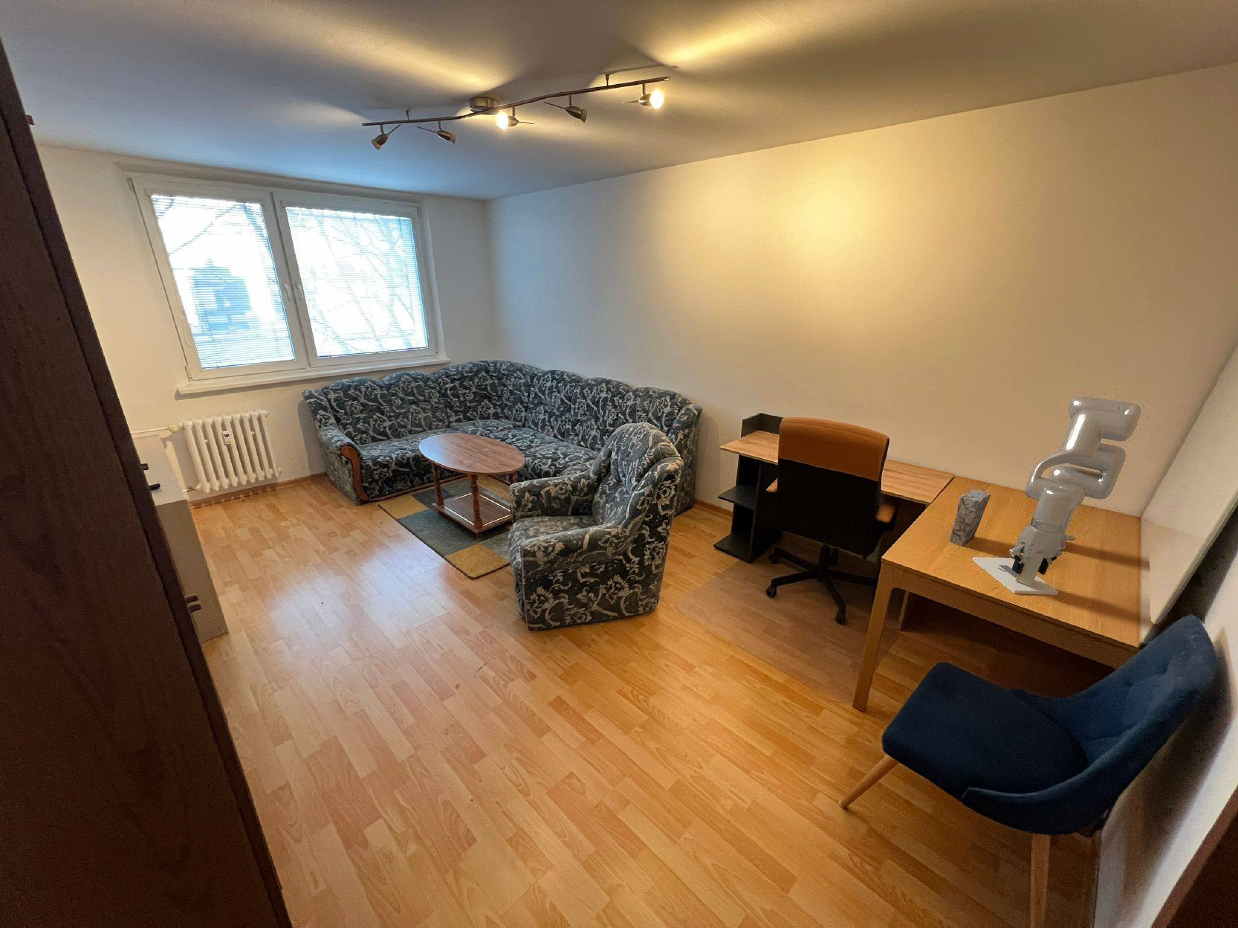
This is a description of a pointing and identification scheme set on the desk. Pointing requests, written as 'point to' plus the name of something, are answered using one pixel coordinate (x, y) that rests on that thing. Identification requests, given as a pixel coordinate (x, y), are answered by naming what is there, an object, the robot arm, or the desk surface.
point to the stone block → (969, 516)
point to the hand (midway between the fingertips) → (1027, 571)
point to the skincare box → (1030, 569)
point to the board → (1012, 576)
